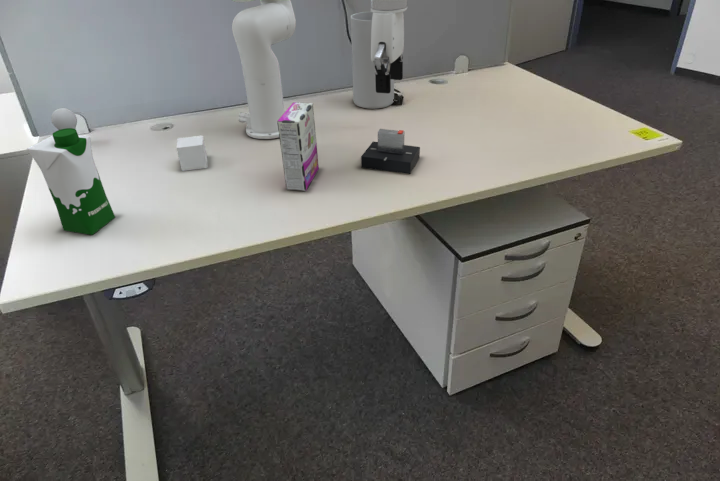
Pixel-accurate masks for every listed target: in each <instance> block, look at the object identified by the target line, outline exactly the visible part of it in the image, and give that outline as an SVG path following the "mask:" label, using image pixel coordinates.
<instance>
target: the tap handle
mask: <svg viewBox="0 0 720 481" xmlns="http://www.w3.org/2000/svg"><path fill="white" fill-rule="evenodd" d="M405 133H406V132H405V130H402V129H399V130H396V129H388V128H379V129H378V130H377V142H378V151H379V152H387V153H395V154H402V153H403V152H404V145H405V137H406V136H405V135H406V134H405Z"/></svg>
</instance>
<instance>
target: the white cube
mask: <svg viewBox="0 0 720 481" xmlns="http://www.w3.org/2000/svg"><path fill="white" fill-rule="evenodd" d="M176 141H177V142H176V147H175V148H176V152H177V157H178V160H179V165H180V169H181V171H182V172H186V171H192V170H201V169H208V152H207V149H206V144H205V140H204V135H201V134H200V135H194V136H184V137H177V139H176Z"/></svg>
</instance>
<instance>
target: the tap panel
mask: <svg viewBox="0 0 720 481" xmlns="http://www.w3.org/2000/svg"><path fill="white" fill-rule="evenodd" d="M420 153H421V147H420V146H416V145H407V144H404V152H403V153H402V154H395V153H387V152H379V151H378V141H372V142H370V144H369V145H368V147H367V148H366V150H364V152H363V153H362V154H361V155H360V162H361V163H360V165H361V169H366V170H367V169H369V170H375V171H382V172H383V171H385V172H390V173H391V172H392V173H397V174H404V175H405V174H406V175H411V174H412V173H413V170H414V169H415V167H416V165H417V163H418V162H419V160H420V155H421V154H420Z"/></svg>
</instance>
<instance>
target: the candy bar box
mask: <svg viewBox="0 0 720 481" xmlns="http://www.w3.org/2000/svg"><path fill="white" fill-rule="evenodd" d="M284 111H285V113H284V114H283V115H282V116H281V117H280V118H279V120H278V121H277V124H278V130H279V137H278V138H279V139H278V140H279V145H280V152H281V159H282V166H283V174H284V182H285V189H286V190H287V191H299V192H306V191H307V190H308V189H309V187H310V185H311V184H312V182H313V180H314V178H315V177H316V175H317V173H318V171H319V170H320V167H319V154H318V145H317V144H318V143H317V134H316V133H317V132H316V124H315V122H316V121H315V113H314V112H315V111H314V103H313V102H304V101H303V102H302V101H300V102H299V101H295V102H292V103H291V104H290V105H289V106H288V108H286V110H284Z"/></svg>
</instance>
